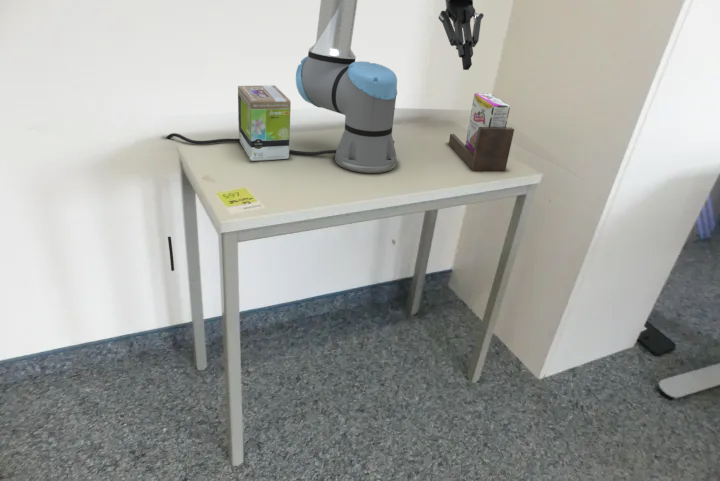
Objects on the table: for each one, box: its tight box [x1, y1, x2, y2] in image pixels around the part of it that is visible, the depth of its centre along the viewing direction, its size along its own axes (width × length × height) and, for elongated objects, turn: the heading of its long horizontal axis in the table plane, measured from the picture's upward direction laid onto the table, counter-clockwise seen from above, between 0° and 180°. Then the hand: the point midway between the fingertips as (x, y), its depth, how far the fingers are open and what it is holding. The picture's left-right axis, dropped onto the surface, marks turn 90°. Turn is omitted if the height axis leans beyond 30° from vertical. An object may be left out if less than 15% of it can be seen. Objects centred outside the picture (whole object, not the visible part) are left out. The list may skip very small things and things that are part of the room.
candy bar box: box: [465, 92, 511, 154], centre depth 144 cm, size 11×5×16 cm, turn 15°
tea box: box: [237, 85, 292, 162], centre depth 139 cm, size 15×10×15 cm, turn 22°
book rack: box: [448, 126, 515, 172], centre depth 147 cm, size 9×20×11 cm, turn 10°
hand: (467, 67), depth 154 cm, fingers closed
